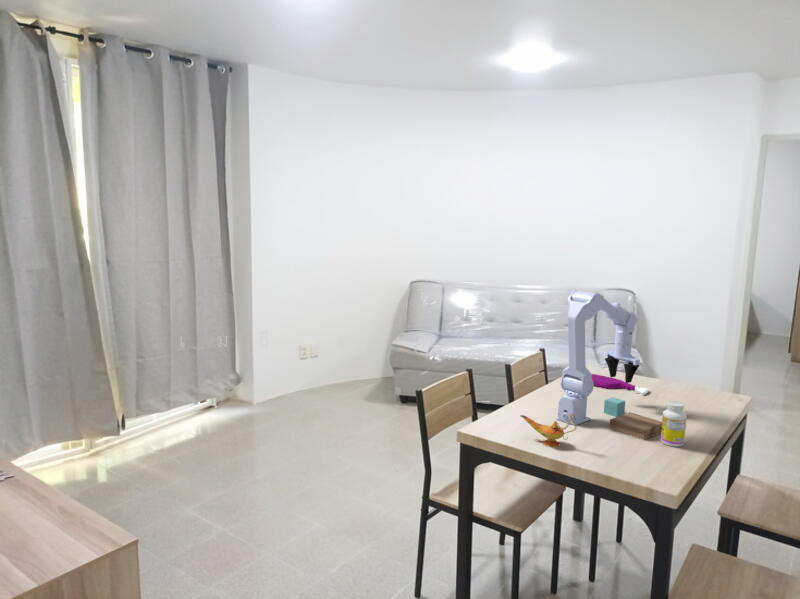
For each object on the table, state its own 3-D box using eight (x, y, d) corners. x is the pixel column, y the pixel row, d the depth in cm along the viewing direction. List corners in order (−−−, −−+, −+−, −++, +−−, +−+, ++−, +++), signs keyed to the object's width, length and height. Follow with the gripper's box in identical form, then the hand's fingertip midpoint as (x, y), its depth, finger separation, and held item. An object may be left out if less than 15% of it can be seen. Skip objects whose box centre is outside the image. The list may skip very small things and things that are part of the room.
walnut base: (643, 439, 178) (644, 430, 178) (609, 428, 187) (609, 419, 187) (663, 431, 185) (664, 422, 185) (629, 420, 195) (629, 412, 194)
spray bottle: (592, 379, 244) (651, 392, 228) (581, 385, 236) (642, 398, 220) (592, 372, 244) (652, 385, 228) (582, 378, 236) (643, 391, 220)
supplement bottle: (663, 437, 180) (667, 398, 179) (686, 442, 176) (690, 403, 174) (657, 443, 175) (661, 403, 173) (681, 449, 171) (684, 408, 169)
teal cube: (616, 417, 198) (617, 403, 197) (603, 413, 202) (604, 399, 201) (624, 414, 201) (625, 400, 200) (611, 410, 205) (612, 397, 204)
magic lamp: (523, 432, 183) (524, 399, 182) (578, 445, 173) (580, 410, 172) (514, 438, 178) (515, 405, 176) (571, 453, 168) (573, 417, 166)
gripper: (647, 346, 202) (644, 383, 204) (616, 338, 215) (614, 373, 217) (632, 348, 199) (629, 385, 201) (602, 339, 212) (599, 375, 214)
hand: (620, 379), depth 209 cm, fingers open, 7 cm apart
